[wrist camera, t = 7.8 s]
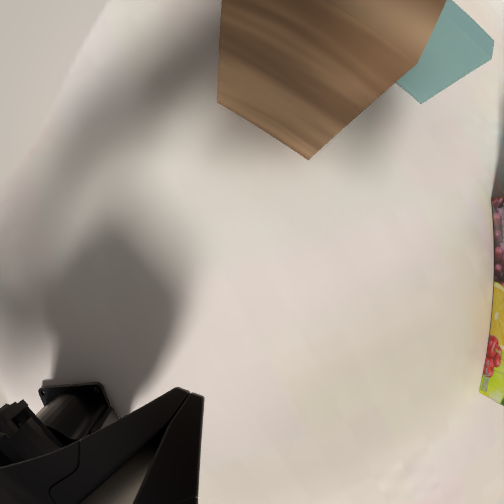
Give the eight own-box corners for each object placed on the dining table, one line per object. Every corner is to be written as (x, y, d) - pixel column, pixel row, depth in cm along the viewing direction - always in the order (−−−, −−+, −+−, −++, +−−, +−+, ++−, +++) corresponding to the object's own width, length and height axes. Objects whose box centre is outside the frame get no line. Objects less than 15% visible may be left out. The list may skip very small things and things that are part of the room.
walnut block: (308, 160, 22) (416, 64, 8) (217, 102, 21) (224, -44, 7) (370, 64, 23) (458, -29, 9) (296, 16, 22) (344, -99, 8)
